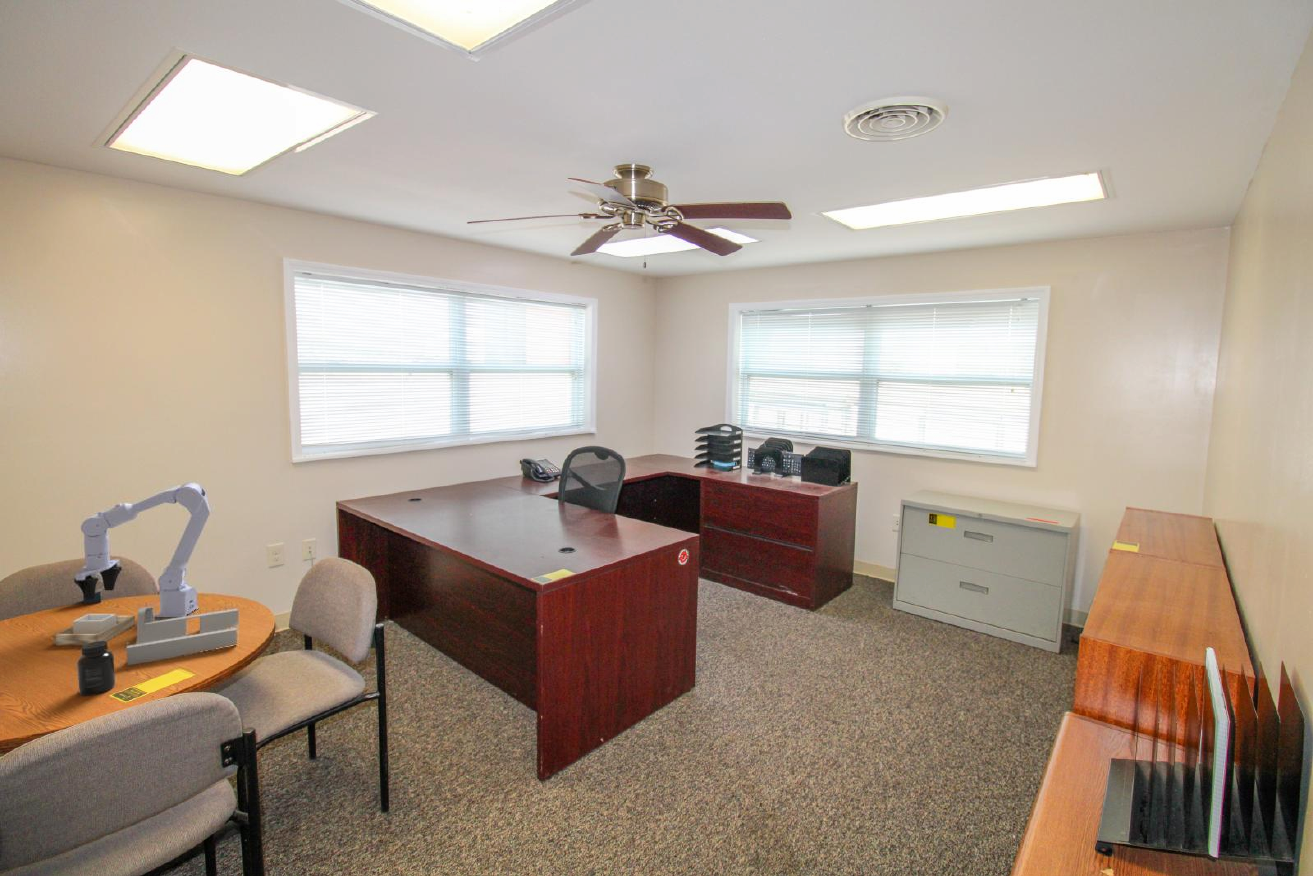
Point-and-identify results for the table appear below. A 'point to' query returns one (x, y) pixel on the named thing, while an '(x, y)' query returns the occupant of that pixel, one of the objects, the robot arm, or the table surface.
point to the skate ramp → (180, 635)
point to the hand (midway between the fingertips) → (99, 594)
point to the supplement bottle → (95, 669)
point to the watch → (97, 592)
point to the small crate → (93, 623)
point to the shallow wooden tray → (82, 639)
